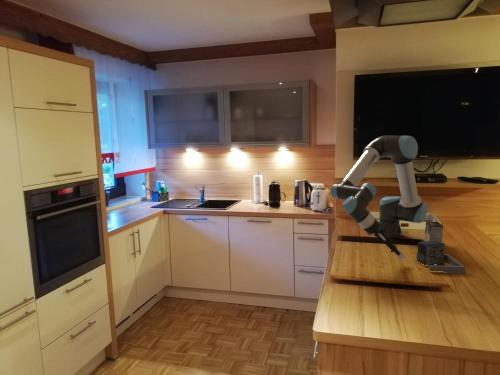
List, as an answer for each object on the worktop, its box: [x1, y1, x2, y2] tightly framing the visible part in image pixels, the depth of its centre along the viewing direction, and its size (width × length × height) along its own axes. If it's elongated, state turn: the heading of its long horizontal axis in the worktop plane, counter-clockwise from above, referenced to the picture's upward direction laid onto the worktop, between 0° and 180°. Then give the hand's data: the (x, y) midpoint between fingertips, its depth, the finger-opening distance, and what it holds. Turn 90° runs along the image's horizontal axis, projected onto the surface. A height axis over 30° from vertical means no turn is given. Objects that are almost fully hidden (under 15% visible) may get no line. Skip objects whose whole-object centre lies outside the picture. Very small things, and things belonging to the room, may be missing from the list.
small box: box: [416, 240, 446, 265], centre depth 181 cm, size 11×6×10 cm, turn 104°
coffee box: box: [424, 221, 444, 243], centre depth 194 cm, size 9×6×16 cm
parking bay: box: [415, 253, 466, 275], centre depth 178 cm, size 18×15×3 cm
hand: (403, 258), depth 179 cm, fingers closed
